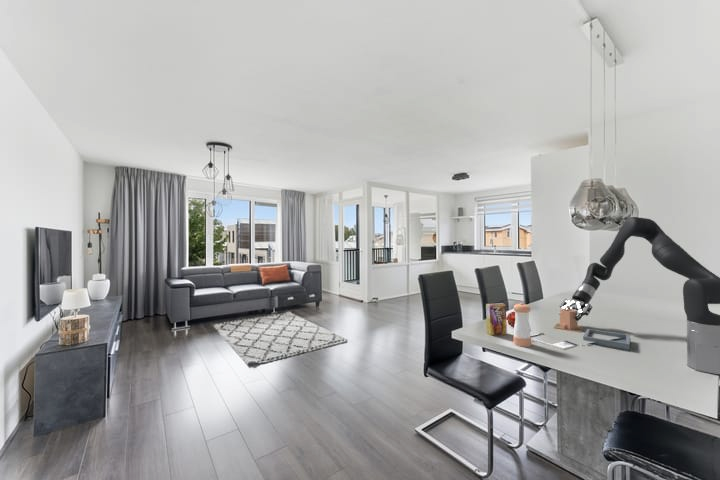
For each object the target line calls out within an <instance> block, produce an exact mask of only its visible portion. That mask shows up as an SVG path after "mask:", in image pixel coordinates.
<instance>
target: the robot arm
mask: <svg viewBox="0 0 720 480" xmlns="http://www.w3.org/2000/svg"><path fill="white" fill-rule="evenodd" d="M631 237H635V238H636V237H637V238H642V239H644V240H646V241H648V243H650V244H651V254H652V257H654V259H655V260H656V261H657V262H658V263H659V264H660V265H662V266H663V267H664V268H666V269H667V270H669V271H671V272H673V273H676V274H678V275H679V276H683V277H684V278H687V280H686V281H685V282H684V283H683V287H682V296H683V309H684V312H685V314H686V363H687V364H686V365H687V367H688V368H689V367H690V368H691V369H693V370H694V371H698V372H704V373H709V374H714V375H720V314H718V313H715V312H712V311H710V308H709V305H720V276H718V275H716V274H715V273H713V272H712V271H710V269H708V268H707V267H705V266H704V265H702V264H701V263H700V262H699V261H698V260H696V259H695V258H694V257H692V255H690V254H689V252H687V251H686V250H685V249H684V248H682V246H680V245H679V244H678V243H676V242H675V241H674V240H673V239H672V238H671V237H670V236H669V235H668V234H667V233H665V232H664V230H663V229H662V228H661V227H660V226H659V225H658V224H657V222H656V221H654V220H653V219H651V218H646V217H639V216H630V217H628V218H627V219H625V221H624V222H623V223H622V225H621V227H620V228H619V230H618V232H617V233H616V235H615V238H614V239H613V241H612V243H611V245H610V246H609V247H608V249H607V250H606V251H605V252H604V254H603V255H602V256H601V257H600V258H599V262H600V263H599V262H592V263H590V264H589V265H588V267H587V270H586V275H585V278H584V279H583V281H582V283H581V284H580V285H579V286H578V288H577V289H576V290H575V292H574V293H573V294H572V296H571V299H570V300H568V299H567V298H564V299H563V300H562V302H561V303H560V305H559V308H560V310H562V309H570V310H574V311H578V312H577V315H576V317H575V319H576V320H577V322H579V321H580V320H581V319H582V317H583V316H586V317H588V316H589V314H590V312H591V310H592V309H593V306H592V304H591V303H590V302H591V300H592V299H593V297H595V293H596V291H597V290H598V289H599V287H600V285H601V282H600V281H607V280H609V279H610V278H611V277H612V273H613V272H614V271H613V270H614V268H615V267H616V265H617V264H619V262H620V261H621V260H622V258H623V257H624V255H625V251H626V250H625V249H626V247H625V245H626V242H627V240H628V239H629V238H631ZM599 280H600V281H599ZM559 316H560V311H559Z"/></svg>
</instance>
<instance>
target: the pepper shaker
mask: <svg viewBox="0 0 720 480" xmlns="http://www.w3.org/2000/svg"><path fill="white" fill-rule="evenodd" d="M512 309H513V312H515V326H513V333H514V334H513V344H514V345H515V346H519V347H522V348H523V347H526V348H527V347H531V346H532V339H531V338H532V336H530V335H531V325H530V321H529V320H530V319H529V318H530V317H529V316H530V315H529V313H530V312H531V307H530V306H529V305H528V304H525V303H524V302H520V303H517V304H514V306H513V307H512Z"/></svg>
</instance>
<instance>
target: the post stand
mask: <svg viewBox="0 0 720 480" xmlns="http://www.w3.org/2000/svg"><path fill="white" fill-rule="evenodd" d="M553 329H555V330H562V331H569V332H575V333H580V334H581V333H582V332H583V330H584V329H585V327H584V326H580V325H578V328H577V329H571V330H570V329H564V328H562V327H560V322H557V323H555V325H554V326H553Z"/></svg>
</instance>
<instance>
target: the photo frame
mask: <svg viewBox="0 0 720 480" xmlns="http://www.w3.org/2000/svg"><path fill="white" fill-rule="evenodd" d="M543 334H545V333H544V332H540V333H536V334H535V333H534V334H530V337H531V341H535V342H538V343H541V344H544V345H548V346H551V347H555V348H557V349H560V350H566V349H570V348H574V347H577V346H579V344H578V343H577V344H576V343H574V342H571V341H568V340H564V341H559V342H556V343H548V342H546V341H543V340H540V339H536V338H533V337H534V336H538V335H543Z"/></svg>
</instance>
